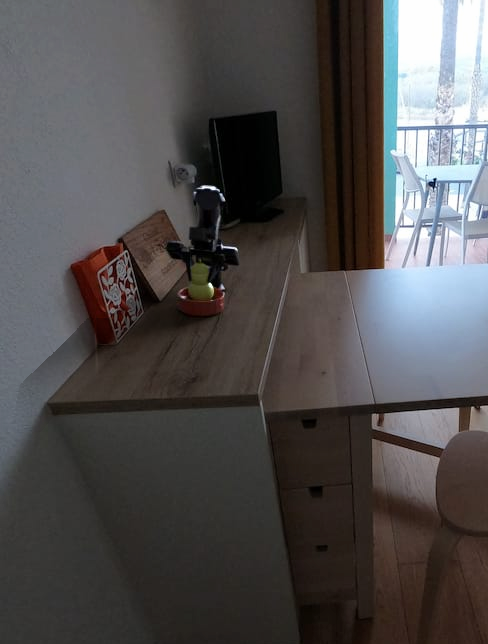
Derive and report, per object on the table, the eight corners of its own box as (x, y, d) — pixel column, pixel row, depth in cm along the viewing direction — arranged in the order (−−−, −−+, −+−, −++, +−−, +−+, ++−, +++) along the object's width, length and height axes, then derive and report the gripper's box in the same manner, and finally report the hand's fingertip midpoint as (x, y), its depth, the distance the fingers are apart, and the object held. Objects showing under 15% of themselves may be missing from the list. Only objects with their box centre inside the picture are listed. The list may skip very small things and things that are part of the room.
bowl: (175, 301, 130) (174, 286, 128) (219, 299, 136) (218, 284, 134) (182, 319, 121) (181, 303, 119) (229, 315, 127) (228, 300, 124)
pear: (187, 298, 129) (184, 255, 123) (211, 297, 132) (209, 254, 126) (191, 308, 124) (188, 263, 118) (216, 306, 127) (214, 262, 121)
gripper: (164, 209, 119) (153, 263, 115) (237, 217, 121) (229, 271, 116) (176, 232, 130) (166, 283, 125) (243, 239, 131) (236, 290, 127)
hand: (199, 281), depth 123 cm, fingers closed on pear, 4 cm apart
